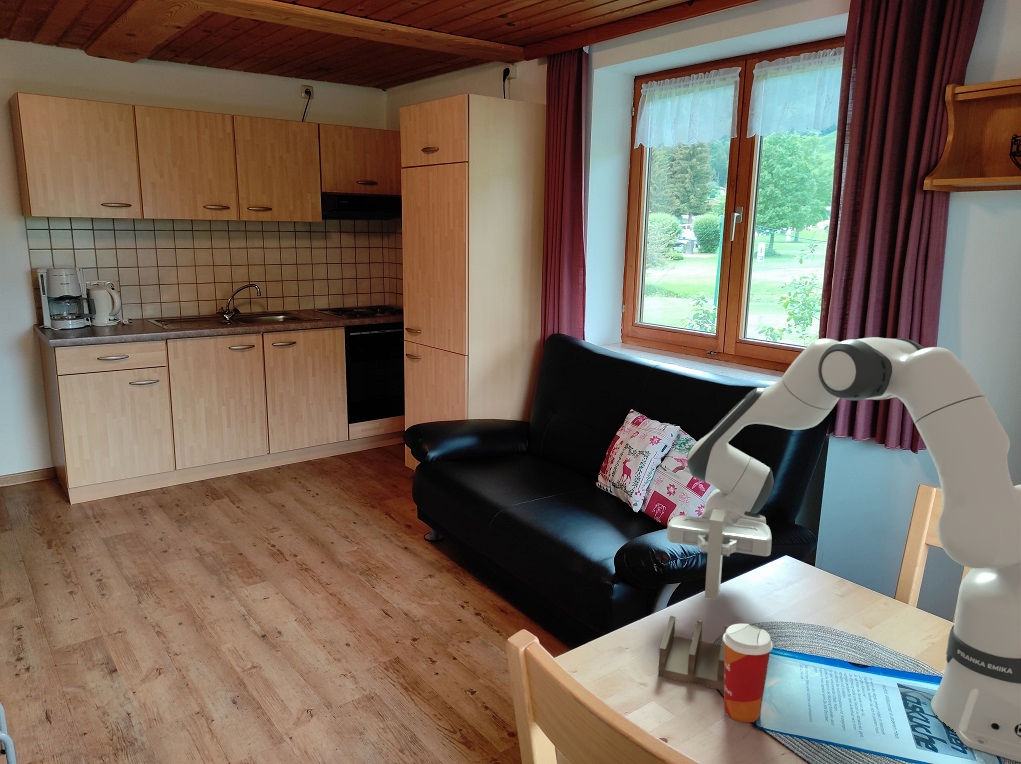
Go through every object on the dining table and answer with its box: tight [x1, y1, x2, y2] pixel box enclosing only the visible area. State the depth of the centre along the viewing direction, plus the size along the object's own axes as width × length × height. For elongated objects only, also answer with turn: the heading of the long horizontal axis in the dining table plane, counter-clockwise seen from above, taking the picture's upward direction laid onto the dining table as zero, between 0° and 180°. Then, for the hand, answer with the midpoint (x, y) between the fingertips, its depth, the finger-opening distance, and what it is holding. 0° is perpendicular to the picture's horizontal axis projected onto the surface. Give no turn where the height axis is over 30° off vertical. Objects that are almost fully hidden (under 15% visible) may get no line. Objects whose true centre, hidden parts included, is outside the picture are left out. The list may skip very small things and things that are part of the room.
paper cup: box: [722, 623, 774, 724], centre depth 122 cm, size 8×8×14 cm
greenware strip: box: [704, 509, 726, 601], centre depth 146 cm, size 2×6×16 cm, turn 160°
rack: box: [657, 615, 729, 691], centre depth 135 cm, size 16×12×6 cm
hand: (715, 550), depth 144 cm, fingers closed on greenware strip, 2 cm apart
